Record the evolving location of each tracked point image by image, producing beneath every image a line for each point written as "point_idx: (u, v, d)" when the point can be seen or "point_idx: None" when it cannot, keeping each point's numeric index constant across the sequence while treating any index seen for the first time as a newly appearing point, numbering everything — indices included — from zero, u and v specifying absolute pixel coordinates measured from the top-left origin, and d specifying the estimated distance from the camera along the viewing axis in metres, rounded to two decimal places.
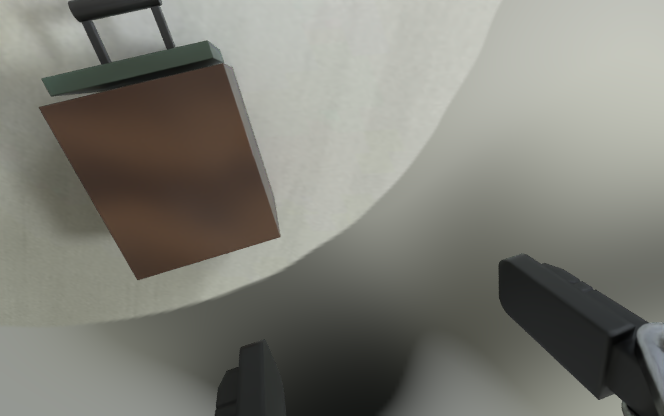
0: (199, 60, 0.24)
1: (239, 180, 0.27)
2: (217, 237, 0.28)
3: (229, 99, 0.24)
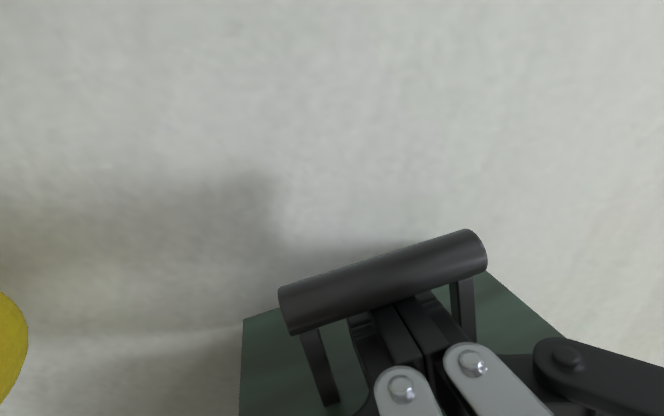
0: None
1: None
2: None
3: None
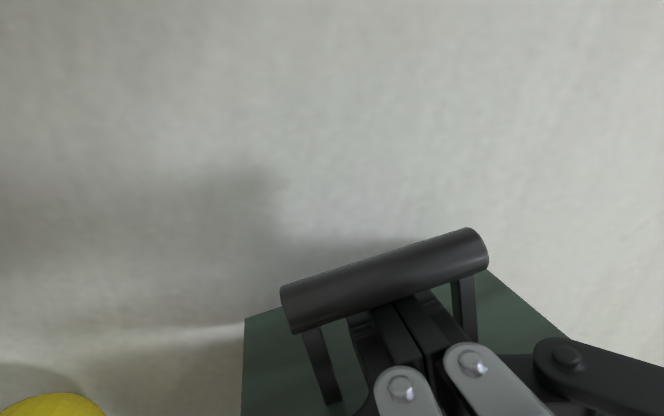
0: None
1: None
2: None
3: None
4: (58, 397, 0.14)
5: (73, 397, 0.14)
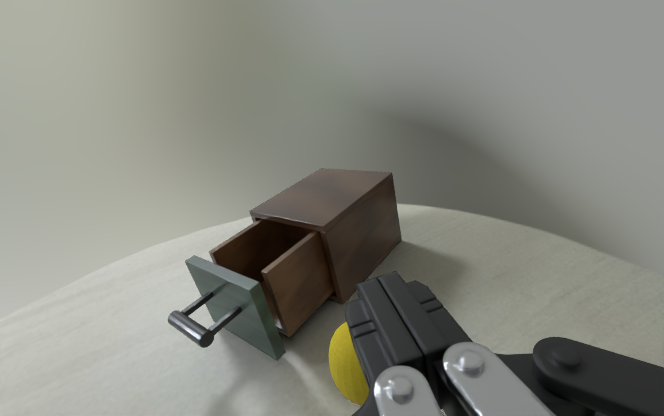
0: (198, 257, 0.36)
1: (303, 184, 0.46)
2: (339, 174, 0.47)
3: (265, 202, 0.43)
4: None
5: None
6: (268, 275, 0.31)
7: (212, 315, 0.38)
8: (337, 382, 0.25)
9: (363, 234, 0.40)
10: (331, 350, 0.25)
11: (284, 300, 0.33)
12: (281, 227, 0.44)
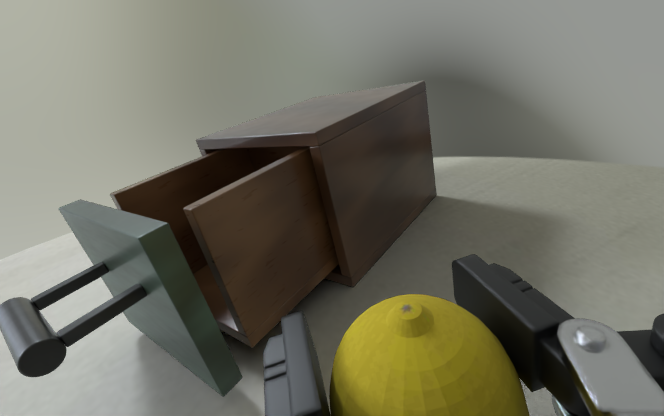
0: (84, 201, 0.19)
1: (286, 110, 0.30)
2: (342, 95, 0.31)
3: (223, 130, 0.27)
4: None
5: None
6: (197, 215, 0.14)
7: (123, 310, 0.22)
8: None
9: (385, 169, 0.24)
10: (337, 385, 0.09)
11: (237, 272, 0.16)
12: (250, 170, 0.27)
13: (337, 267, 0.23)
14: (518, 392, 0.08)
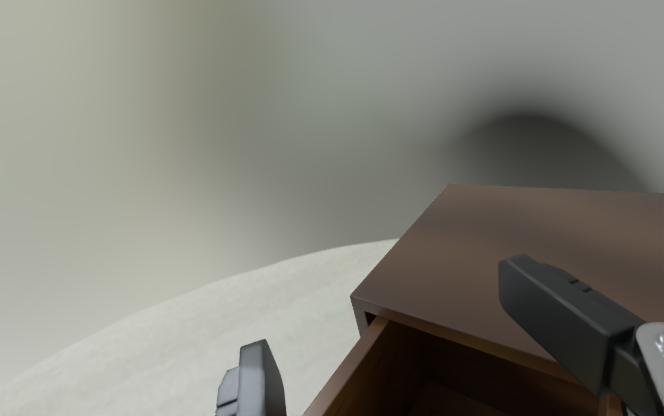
0: None
1: (442, 220, 0.22)
2: (513, 196, 0.23)
3: (379, 270, 0.19)
4: None
5: None
6: None
7: None
8: None
9: None
10: None
11: None
12: None
13: None
14: None
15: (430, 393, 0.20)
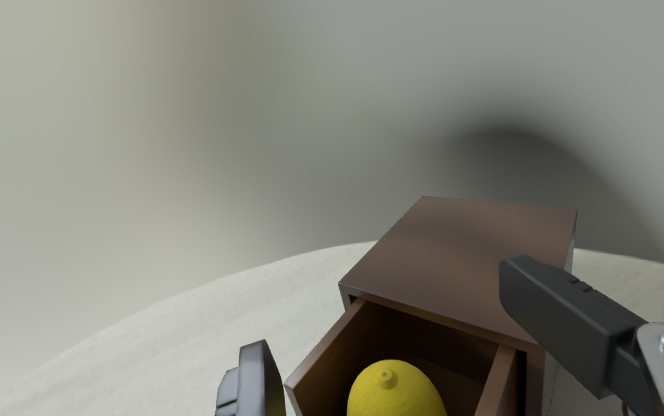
0: None
1: (412, 227, 0.28)
2: (468, 208, 0.29)
3: (360, 264, 0.25)
4: None
5: None
6: None
7: None
8: None
9: None
10: (352, 414, 0.17)
11: None
12: None
13: None
14: (439, 412, 0.17)
15: (400, 359, 0.27)
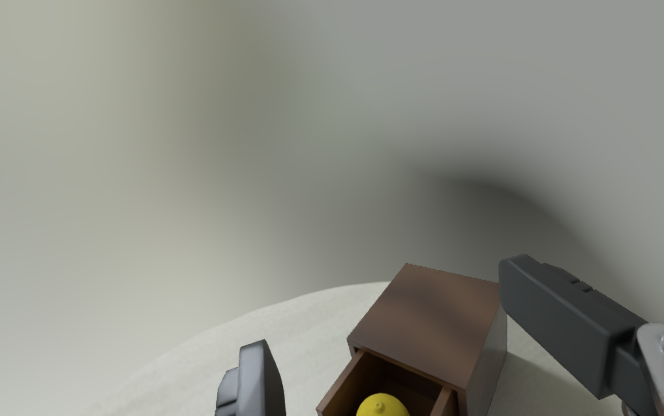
0: None
1: (397, 293, 0.40)
2: (437, 278, 0.41)
3: (361, 324, 0.37)
4: None
5: None
6: None
7: None
8: None
9: (487, 370, 0.34)
10: None
11: None
12: None
13: None
14: None
15: (388, 386, 0.39)
